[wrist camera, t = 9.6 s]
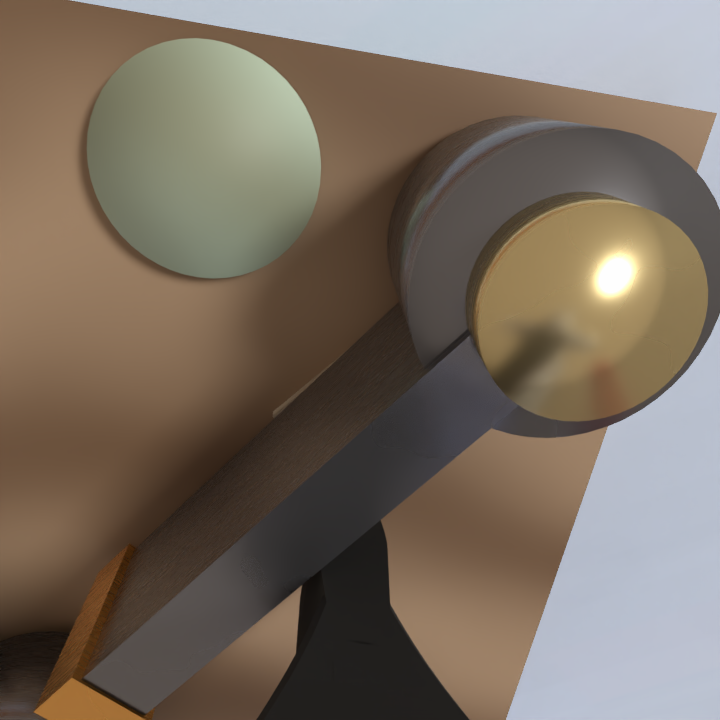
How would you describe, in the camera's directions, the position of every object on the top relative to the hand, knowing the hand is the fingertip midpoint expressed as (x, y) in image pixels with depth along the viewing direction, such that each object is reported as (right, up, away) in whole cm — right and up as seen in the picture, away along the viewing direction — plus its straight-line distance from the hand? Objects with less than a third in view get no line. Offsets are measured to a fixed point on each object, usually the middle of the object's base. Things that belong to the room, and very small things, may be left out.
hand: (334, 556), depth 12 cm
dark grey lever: (0, +3, 0) cm, 3 cm away
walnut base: (-3, +1, +2) cm, 4 cm away
